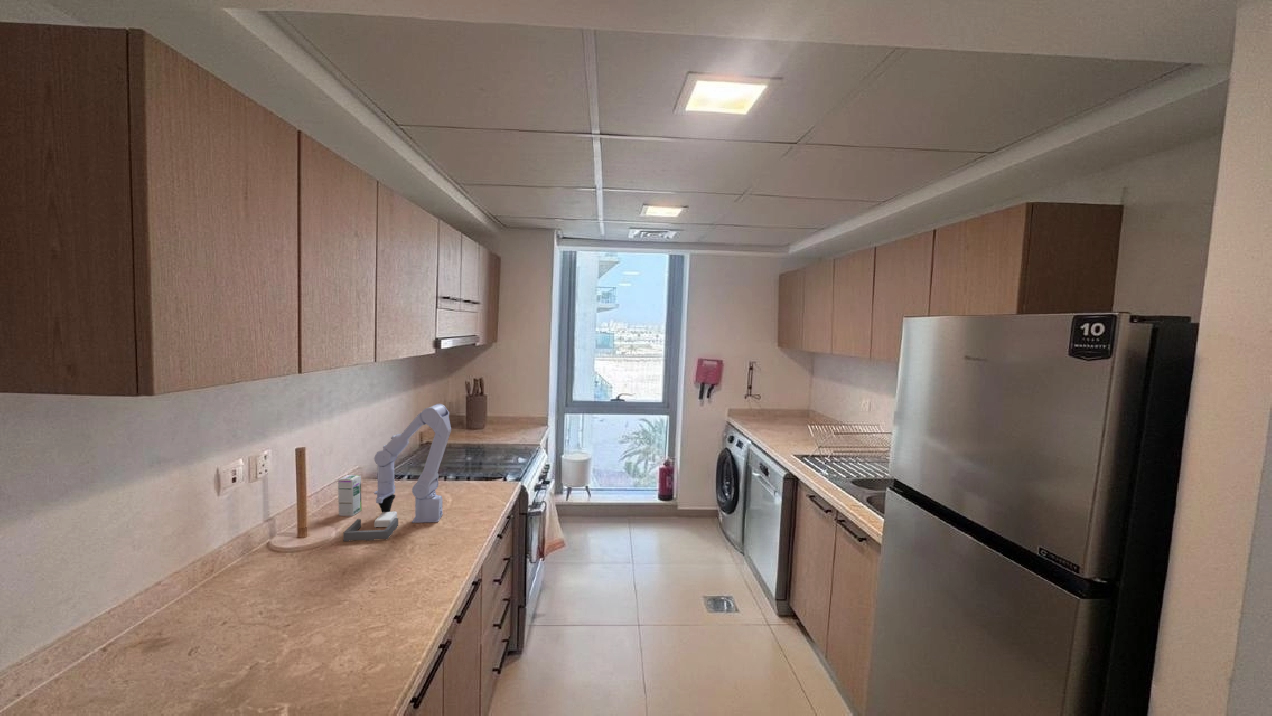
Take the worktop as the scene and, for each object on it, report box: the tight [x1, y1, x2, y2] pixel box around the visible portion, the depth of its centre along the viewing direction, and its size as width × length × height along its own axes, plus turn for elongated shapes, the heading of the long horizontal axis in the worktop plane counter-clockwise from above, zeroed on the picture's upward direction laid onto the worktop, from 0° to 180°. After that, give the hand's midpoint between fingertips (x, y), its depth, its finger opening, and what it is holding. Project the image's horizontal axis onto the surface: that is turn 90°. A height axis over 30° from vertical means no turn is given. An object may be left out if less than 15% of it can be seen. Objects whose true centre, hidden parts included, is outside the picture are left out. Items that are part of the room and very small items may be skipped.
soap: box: [373, 511, 398, 529], centre depth 181 cm, size 9×6×3 cm, turn 10°
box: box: [342, 517, 399, 542], centre depth 172 cm, size 14×12×3 cm
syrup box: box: [337, 474, 363, 517], centre depth 189 cm, size 6×6×14 cm
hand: (386, 515), depth 186 cm, fingers closed
